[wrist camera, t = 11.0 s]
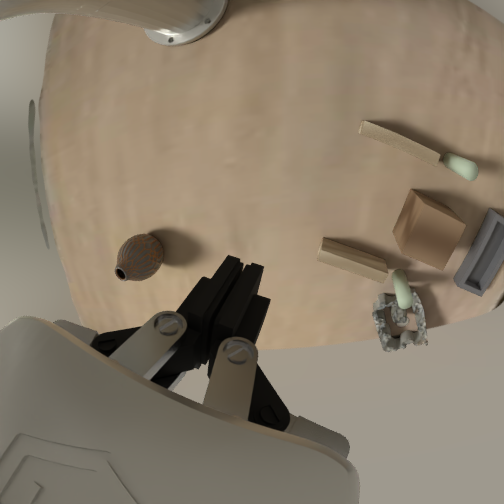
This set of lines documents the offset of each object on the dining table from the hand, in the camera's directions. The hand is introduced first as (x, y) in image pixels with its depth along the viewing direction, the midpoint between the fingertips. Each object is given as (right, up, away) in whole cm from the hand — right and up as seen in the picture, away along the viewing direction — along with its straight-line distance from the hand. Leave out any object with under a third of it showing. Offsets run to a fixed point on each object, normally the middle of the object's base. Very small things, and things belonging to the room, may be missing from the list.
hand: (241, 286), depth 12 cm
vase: (-16, +3, +31) cm, 35 cm away
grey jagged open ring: (+23, -8, +24) cm, 34 cm away
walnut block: (+22, +6, +16) cm, 28 cm away
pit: (+33, +2, +14) cm, 36 cm away
